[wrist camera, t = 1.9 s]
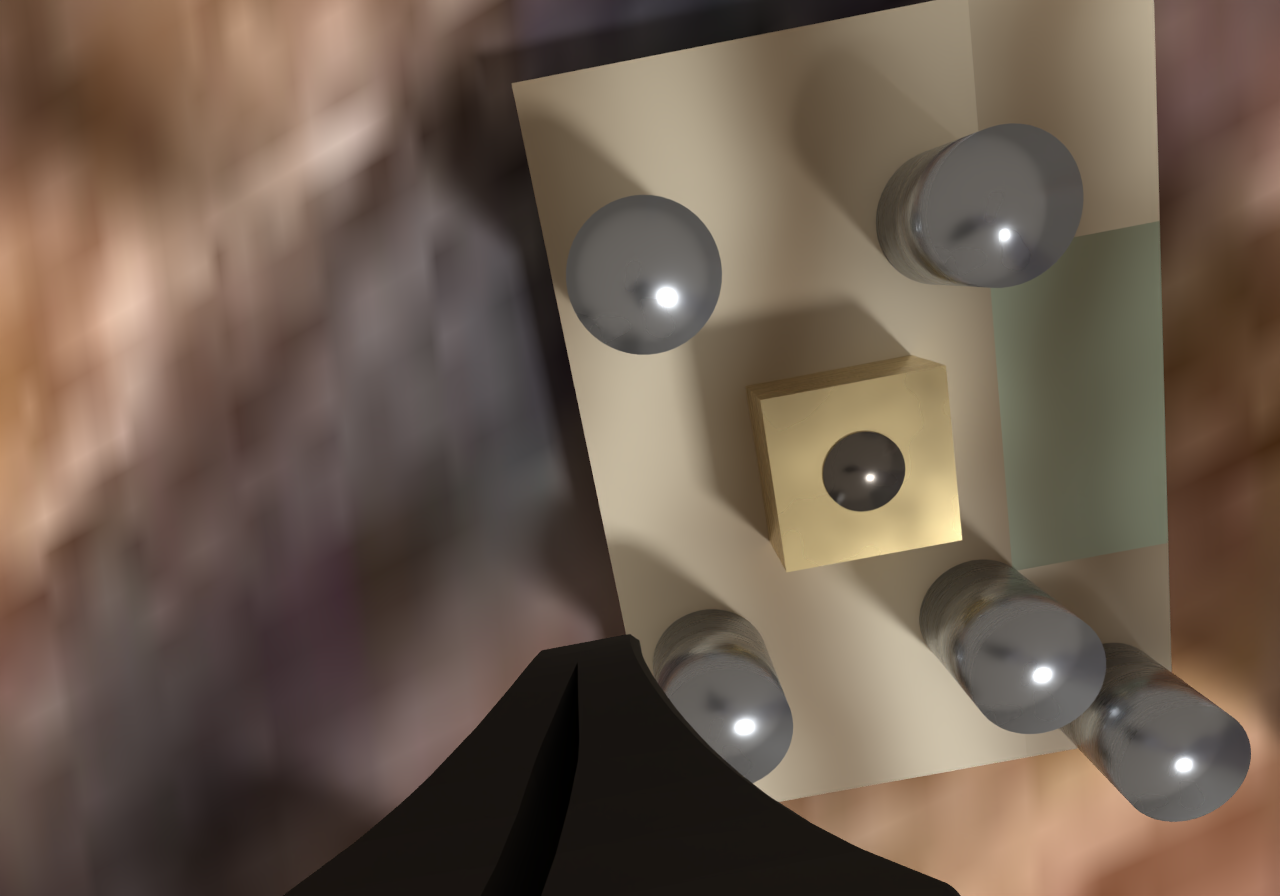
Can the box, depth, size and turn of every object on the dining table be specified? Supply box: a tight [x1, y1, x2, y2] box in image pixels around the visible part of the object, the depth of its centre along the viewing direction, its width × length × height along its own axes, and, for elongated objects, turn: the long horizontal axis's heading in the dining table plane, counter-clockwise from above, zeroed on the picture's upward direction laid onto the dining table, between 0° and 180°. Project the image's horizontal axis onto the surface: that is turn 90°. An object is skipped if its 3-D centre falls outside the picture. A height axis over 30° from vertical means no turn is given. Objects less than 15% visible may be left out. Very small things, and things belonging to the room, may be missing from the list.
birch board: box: [511, 0, 1172, 802], centre depth 19 cm, size 14×19×1 cm
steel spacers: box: [566, 123, 1251, 822], centre depth 18 cm, size 13×16×3 cm
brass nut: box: [745, 355, 962, 572], centre depth 18 cm, size 4×4×2 cm
